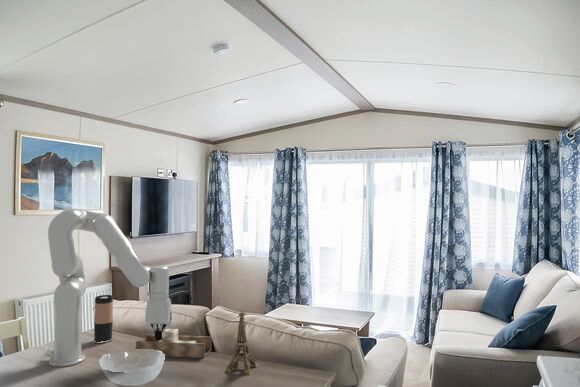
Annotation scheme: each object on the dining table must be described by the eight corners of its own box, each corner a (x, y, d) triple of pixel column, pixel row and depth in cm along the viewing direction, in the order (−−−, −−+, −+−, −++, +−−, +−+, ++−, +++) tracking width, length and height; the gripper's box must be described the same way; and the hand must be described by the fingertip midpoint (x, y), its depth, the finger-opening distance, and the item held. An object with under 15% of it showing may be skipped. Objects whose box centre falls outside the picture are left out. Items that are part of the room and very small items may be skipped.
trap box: (135, 355, 166) (135, 341, 167) (146, 347, 176) (146, 334, 176) (204, 357, 163) (204, 344, 164) (211, 349, 173) (211, 336, 173)
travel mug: (90, 343, 181) (91, 298, 182) (100, 337, 189) (101, 294, 190) (105, 344, 180) (106, 298, 181) (115, 338, 188) (116, 295, 189)
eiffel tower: (259, 364, 156) (259, 299, 157) (250, 375, 146) (250, 305, 147) (233, 362, 159) (233, 298, 160) (223, 373, 148) (223, 304, 149)
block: (162, 344, 168) (162, 332, 168) (166, 340, 173) (167, 328, 173) (173, 344, 167) (173, 332, 167) (178, 340, 172) (178, 328, 172)
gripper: (138, 297, 168) (137, 342, 168) (173, 297, 167) (172, 343, 166) (146, 293, 176) (145, 336, 175) (179, 294, 174) (179, 337, 174)
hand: (158, 339), depth 171 cm, fingers closed
